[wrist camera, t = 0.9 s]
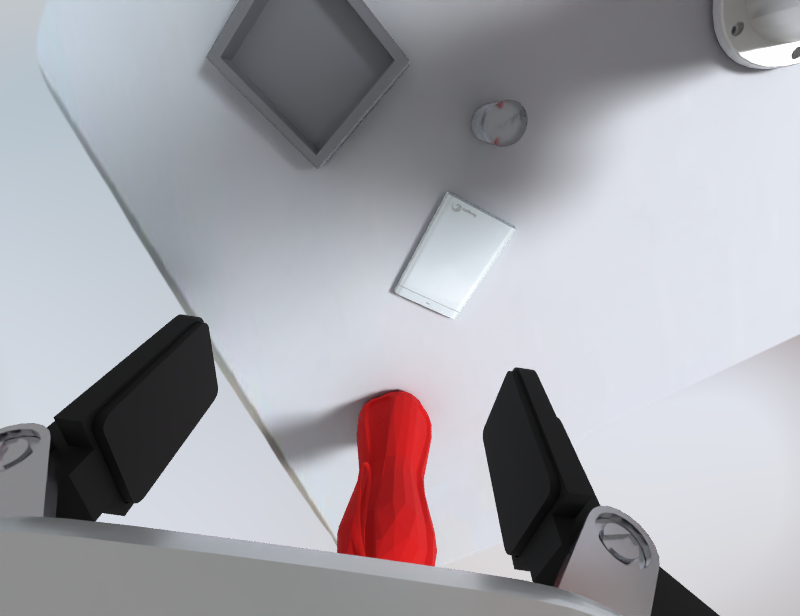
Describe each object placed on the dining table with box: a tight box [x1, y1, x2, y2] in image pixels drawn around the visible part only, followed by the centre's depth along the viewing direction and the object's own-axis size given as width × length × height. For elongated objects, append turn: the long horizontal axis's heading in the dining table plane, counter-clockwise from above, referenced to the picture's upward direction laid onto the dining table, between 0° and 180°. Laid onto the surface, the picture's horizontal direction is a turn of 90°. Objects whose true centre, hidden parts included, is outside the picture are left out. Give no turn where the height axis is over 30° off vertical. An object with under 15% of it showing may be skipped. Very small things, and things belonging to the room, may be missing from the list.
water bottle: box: [337, 391, 437, 567], centre depth 38 cm, size 9×11×25 cm
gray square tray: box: [206, 0, 409, 169], centre depth 28 cm, size 12×12×2 cm
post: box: [472, 100, 527, 146], centre depth 28 cm, size 3×3×7 cm
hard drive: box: [395, 191, 516, 319], centre depth 37 cm, size 2×8×12 cm
